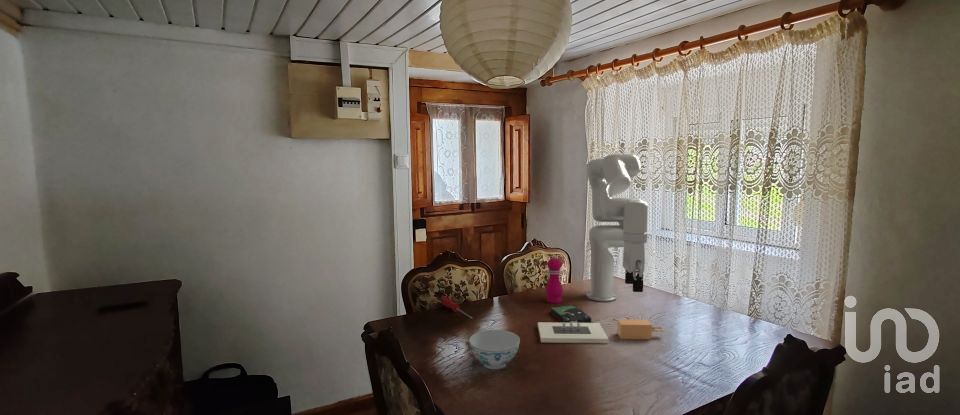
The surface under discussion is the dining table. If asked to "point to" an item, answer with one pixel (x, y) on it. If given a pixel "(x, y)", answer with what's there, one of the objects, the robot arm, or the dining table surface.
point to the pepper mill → (554, 281)
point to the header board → (571, 332)
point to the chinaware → (494, 347)
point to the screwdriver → (451, 305)
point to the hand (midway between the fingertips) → (633, 287)
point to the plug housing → (635, 329)
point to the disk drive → (570, 314)
